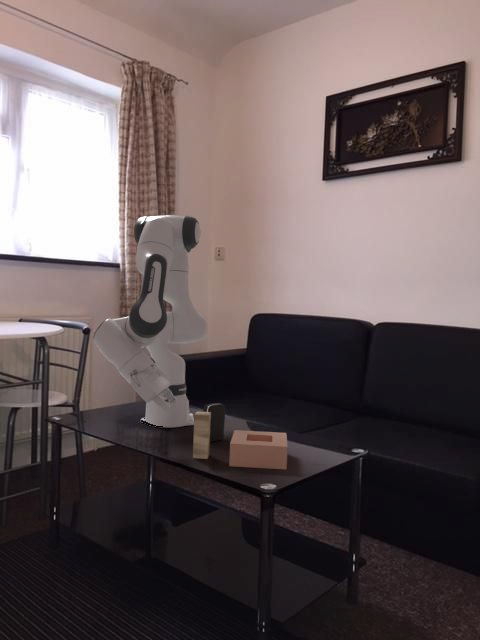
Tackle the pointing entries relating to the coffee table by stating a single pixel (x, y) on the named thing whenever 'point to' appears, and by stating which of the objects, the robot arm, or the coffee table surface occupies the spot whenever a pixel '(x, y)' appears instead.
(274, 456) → the terracotta socket block
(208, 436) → the maple pin
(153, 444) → the coffee table surface
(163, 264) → the robot arm
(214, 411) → the battery charger
